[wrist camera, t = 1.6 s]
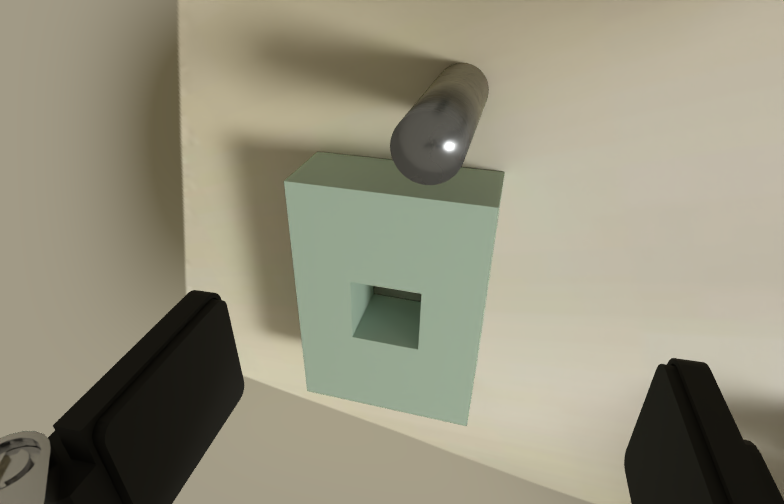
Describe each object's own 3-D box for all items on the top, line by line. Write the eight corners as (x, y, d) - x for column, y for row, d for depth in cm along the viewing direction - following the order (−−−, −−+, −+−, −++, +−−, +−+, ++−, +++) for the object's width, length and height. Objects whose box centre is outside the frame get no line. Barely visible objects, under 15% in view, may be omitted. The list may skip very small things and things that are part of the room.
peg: (436, 61, 27) (390, 108, 18) (491, 64, 26) (469, 114, 18) (433, 115, 28) (389, 180, 20) (485, 120, 28) (461, 189, 19)
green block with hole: (317, 151, 31) (283, 181, 27) (504, 171, 29) (498, 207, 25) (331, 346, 40) (307, 391, 36) (474, 375, 38) (466, 426, 34)
